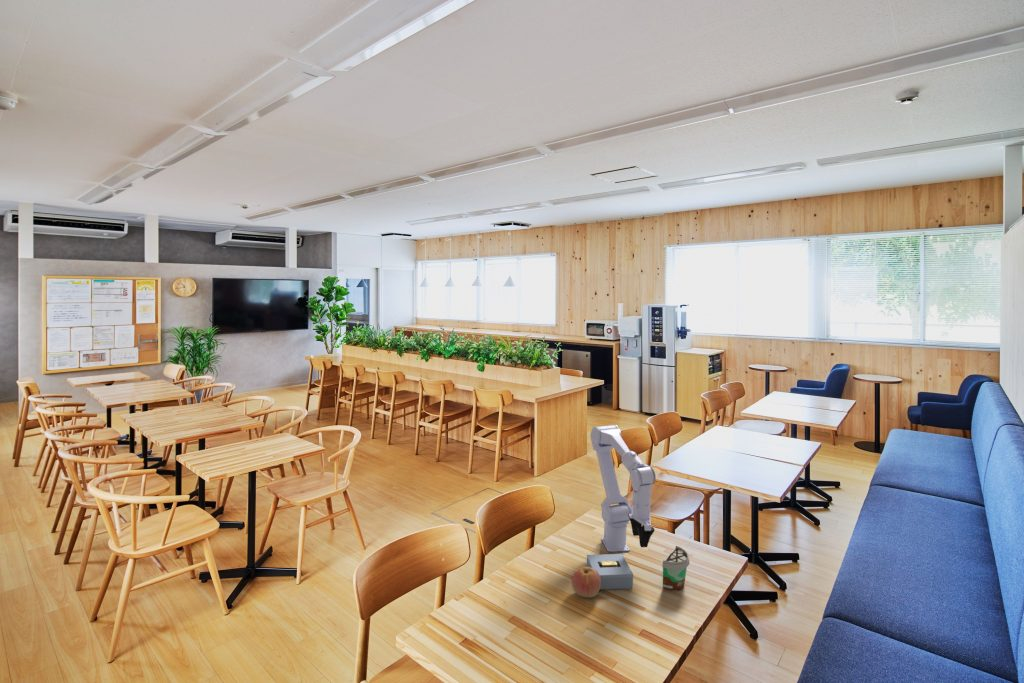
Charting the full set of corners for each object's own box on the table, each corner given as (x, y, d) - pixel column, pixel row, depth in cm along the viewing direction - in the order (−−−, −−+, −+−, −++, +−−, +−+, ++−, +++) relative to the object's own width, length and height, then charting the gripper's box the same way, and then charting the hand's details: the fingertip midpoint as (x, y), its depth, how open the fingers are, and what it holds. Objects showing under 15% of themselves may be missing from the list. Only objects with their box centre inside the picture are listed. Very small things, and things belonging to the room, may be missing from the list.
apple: (599, 604, 154) (600, 579, 154) (570, 600, 156) (570, 575, 155) (600, 587, 163) (601, 564, 162) (572, 584, 165) (573, 560, 164)
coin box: (586, 568, 174) (586, 554, 173) (621, 567, 175) (622, 553, 174) (595, 590, 162) (595, 575, 161) (632, 588, 163) (633, 574, 162)
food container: (680, 598, 158) (682, 567, 157) (660, 590, 162) (662, 560, 161) (693, 580, 168) (695, 551, 167) (674, 573, 172) (676, 544, 171)
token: (600, 575, 169) (600, 561, 169) (615, 575, 170) (615, 561, 169) (601, 579, 167) (602, 564, 167) (617, 578, 168) (617, 564, 167)
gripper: (623, 493, 179) (622, 530, 181) (636, 512, 165) (635, 552, 167) (643, 493, 180) (641, 530, 182) (658, 511, 166) (656, 551, 167)
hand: (639, 540), depth 174 cm, fingers open, 7 cm apart
